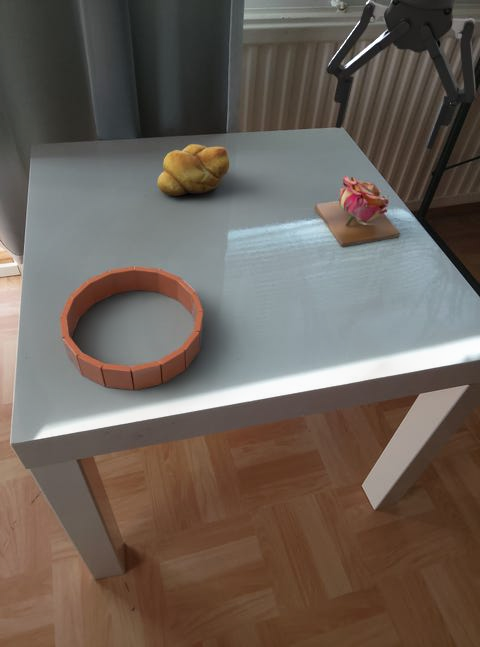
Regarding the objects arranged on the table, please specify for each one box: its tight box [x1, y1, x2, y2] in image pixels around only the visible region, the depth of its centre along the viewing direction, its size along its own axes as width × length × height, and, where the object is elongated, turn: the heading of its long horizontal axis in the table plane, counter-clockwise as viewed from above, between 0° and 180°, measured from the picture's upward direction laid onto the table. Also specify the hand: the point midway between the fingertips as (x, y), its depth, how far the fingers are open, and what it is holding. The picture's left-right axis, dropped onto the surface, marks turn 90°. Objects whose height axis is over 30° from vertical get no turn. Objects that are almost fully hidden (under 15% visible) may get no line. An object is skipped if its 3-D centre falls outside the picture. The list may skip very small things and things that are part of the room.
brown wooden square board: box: [314, 200, 401, 248], centre depth 88 cm, size 11×11×1 cm
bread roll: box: [157, 143, 230, 197], centre depth 89 cm, size 13×10×8 cm
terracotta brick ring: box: [59, 265, 204, 391], centre depth 67 cm, size 18×18×4 cm
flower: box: [336, 175, 390, 227], centre depth 85 cm, size 10×9×8 cm
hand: (384, 134), depth 75 cm, fingers open, 13 cm apart
